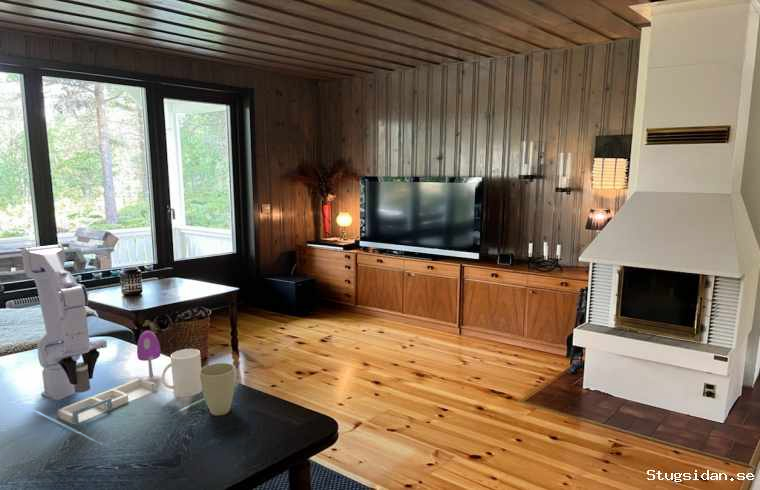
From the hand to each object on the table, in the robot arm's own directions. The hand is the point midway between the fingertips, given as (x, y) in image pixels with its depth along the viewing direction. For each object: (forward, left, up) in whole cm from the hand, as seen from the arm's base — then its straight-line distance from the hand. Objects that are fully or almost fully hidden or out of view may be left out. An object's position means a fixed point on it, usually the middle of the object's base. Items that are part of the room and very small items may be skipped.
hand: (81, 380), depth 140 cm
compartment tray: (0, +7, -10) cm, 12 cm away
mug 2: (+29, +21, -10) cm, 37 cm away
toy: (-8, +25, -10) cm, 28 cm away
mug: (+12, +22, -10) cm, 27 cm away
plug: (0, 0, -2) cm, 3 cm away
